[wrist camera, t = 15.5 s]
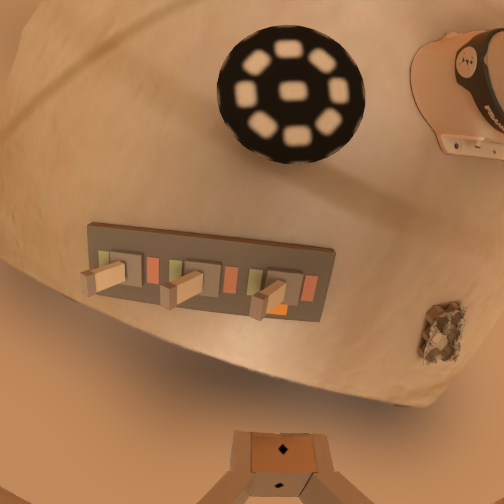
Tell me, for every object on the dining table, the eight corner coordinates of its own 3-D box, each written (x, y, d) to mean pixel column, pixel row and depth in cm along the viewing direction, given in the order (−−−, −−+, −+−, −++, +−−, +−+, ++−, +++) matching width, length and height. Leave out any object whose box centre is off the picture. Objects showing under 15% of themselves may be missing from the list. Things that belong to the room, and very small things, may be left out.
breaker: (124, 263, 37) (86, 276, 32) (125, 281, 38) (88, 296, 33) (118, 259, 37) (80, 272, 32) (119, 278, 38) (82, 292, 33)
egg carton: (446, 350, 47) (456, 363, 43) (412, 356, 47) (421, 371, 43) (462, 298, 43) (475, 310, 39) (426, 303, 43) (438, 316, 39)
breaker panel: (332, 249, 40) (337, 256, 37) (317, 316, 43) (320, 326, 41) (92, 222, 38) (83, 227, 36) (96, 289, 42) (89, 296, 39)
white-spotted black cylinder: (238, 155, 36) (224, 170, 17) (232, 87, 33) (211, 30, 14) (309, 150, 36) (370, 161, 17) (303, 82, 33) (356, 27, 14)
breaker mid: (203, 273, 37) (169, 289, 32) (202, 292, 38) (169, 310, 33) (194, 269, 38) (160, 284, 33) (193, 288, 39) (160, 305, 34)
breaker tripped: (287, 282, 38) (263, 299, 33) (284, 301, 38) (260, 320, 34) (277, 278, 38) (251, 295, 33) (274, 297, 39) (249, 316, 34)
